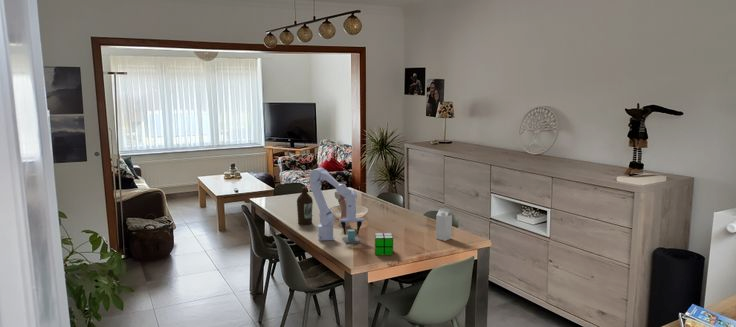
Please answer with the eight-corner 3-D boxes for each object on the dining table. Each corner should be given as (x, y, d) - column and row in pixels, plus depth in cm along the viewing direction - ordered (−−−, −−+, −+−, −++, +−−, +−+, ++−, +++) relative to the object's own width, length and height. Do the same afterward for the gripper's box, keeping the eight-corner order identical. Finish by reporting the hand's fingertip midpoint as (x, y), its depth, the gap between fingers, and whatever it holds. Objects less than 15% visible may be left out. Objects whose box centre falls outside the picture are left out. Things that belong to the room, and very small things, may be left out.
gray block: (346, 245, 313) (346, 241, 312) (342, 240, 321) (342, 237, 321) (360, 243, 315) (360, 240, 315) (356, 239, 324) (356, 236, 323)
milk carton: (441, 236, 329) (442, 206, 326) (451, 238, 324) (452, 208, 321) (435, 238, 323) (436, 208, 320) (445, 241, 319) (446, 210, 316)
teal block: (348, 240, 316) (348, 231, 315) (347, 238, 319) (347, 229, 319) (354, 240, 316) (354, 231, 315) (354, 238, 320) (354, 229, 319)
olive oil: (294, 223, 358) (293, 187, 354) (306, 220, 365) (306, 185, 361) (303, 226, 350) (302, 189, 346) (316, 223, 357) (315, 187, 354)
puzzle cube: (391, 249, 303) (391, 232, 301) (393, 255, 293) (393, 238, 291) (374, 249, 303) (374, 233, 301) (375, 255, 293) (375, 238, 291)
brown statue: (350, 224, 356) (350, 180, 351) (350, 227, 349) (350, 182, 344) (335, 224, 356) (335, 180, 351) (334, 227, 348) (334, 182, 344)
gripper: (339, 214, 310) (339, 236, 312) (364, 213, 312) (364, 235, 314) (338, 211, 317) (338, 232, 319) (362, 210, 319) (362, 231, 321)
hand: (351, 233), depth 317 cm, fingers open, 7 cm apart
